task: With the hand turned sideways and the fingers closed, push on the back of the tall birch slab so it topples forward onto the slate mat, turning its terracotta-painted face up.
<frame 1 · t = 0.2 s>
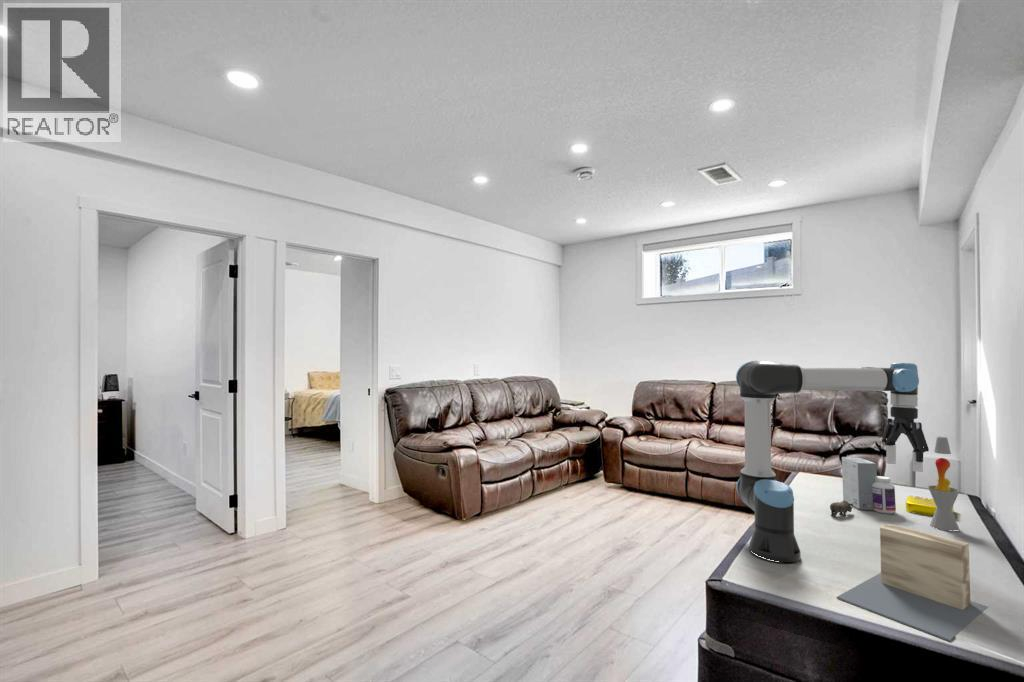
hand: (903, 467, 170), 27 cm above the table, tool pointing down, fingers open, 13 cm apart
lava lamp: (944, 528, 188), on the table
bison figurine: (842, 516, 202), on the table
pill bottle: (883, 512, 207), on the table, touching hard drive box
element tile: (929, 512, 208), on the table
hard drive box: (860, 505, 215), on the table, touching pill bottle
birch slab: (923, 592, 135), resting on slate mat
slate mat: (911, 603, 131), on the table
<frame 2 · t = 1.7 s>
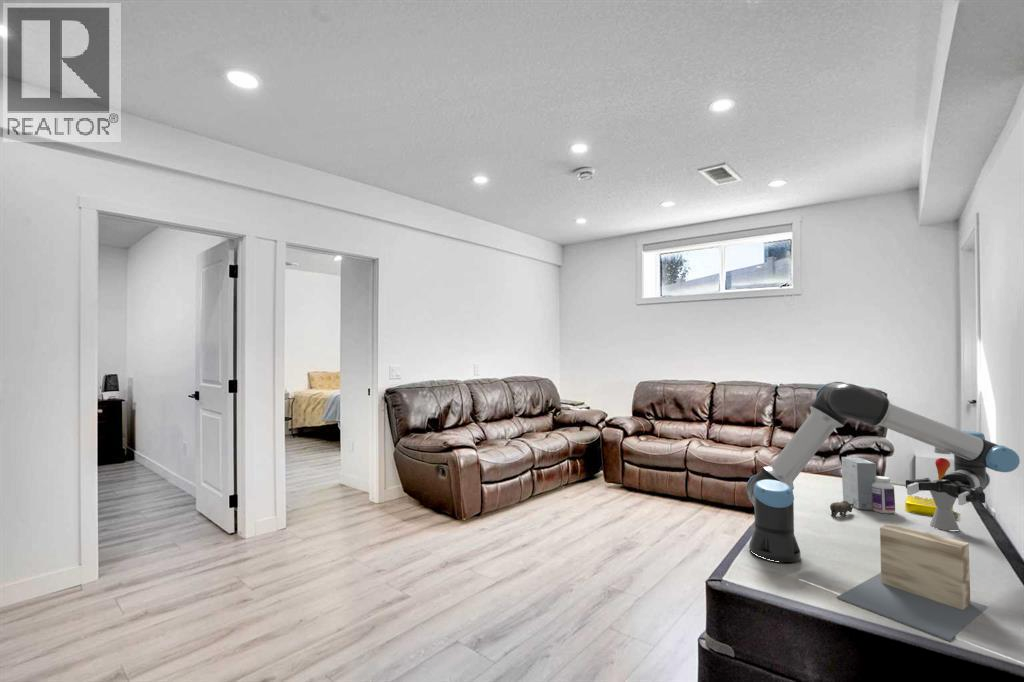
hand: (933, 495, 141), 26 cm above the table, tool horizontal, fingers open, 11 cm apart
hard drive box: (859, 505, 215), on the table, touching pill bottle
everything else where it was.
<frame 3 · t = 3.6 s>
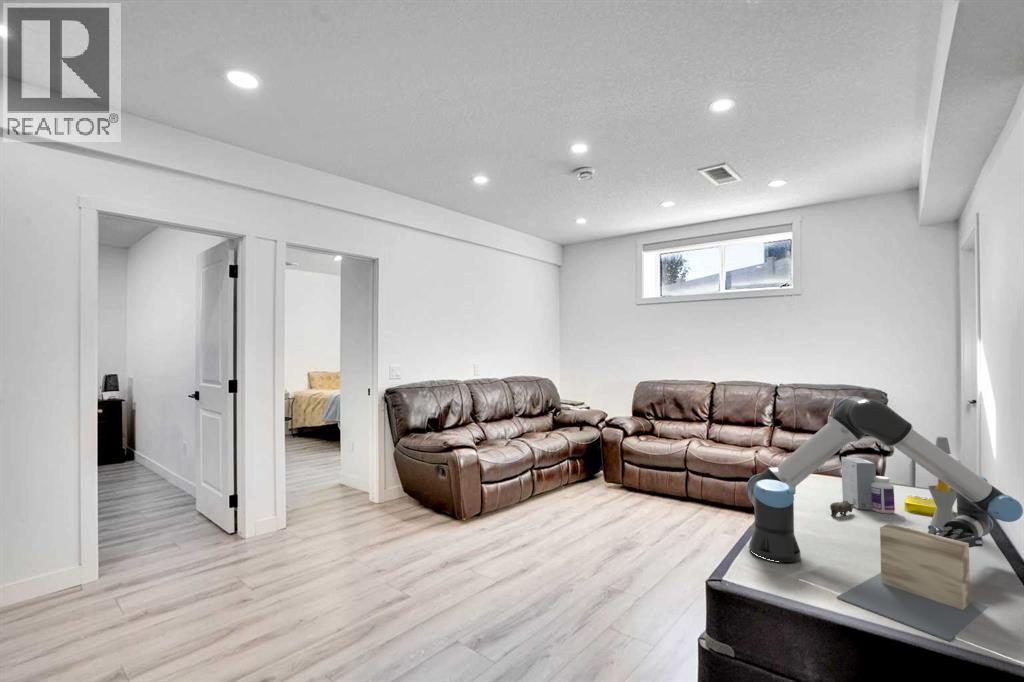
hand: (934, 547, 140), 12 cm above the table, tool horizontal, fingers closed
hard drive box: (859, 505, 216), on the table, touching pill bottle
everything else where it was.
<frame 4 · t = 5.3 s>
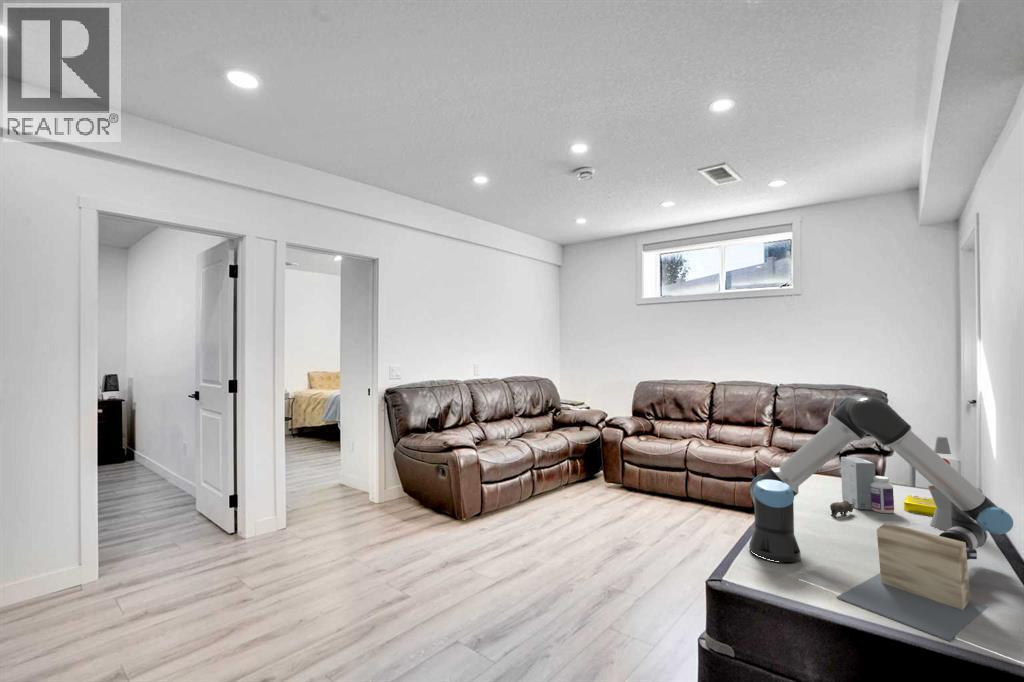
hand: (928, 559, 137), 9 cm above the table, tool horizontal, fingers closed
hard drive box: (858, 505, 216), on the table, touching pill bottle
birch slab: (923, 591, 135), point 1 cm above the table, tilted 8°, touching gripper, slate mat
everything else where it was.
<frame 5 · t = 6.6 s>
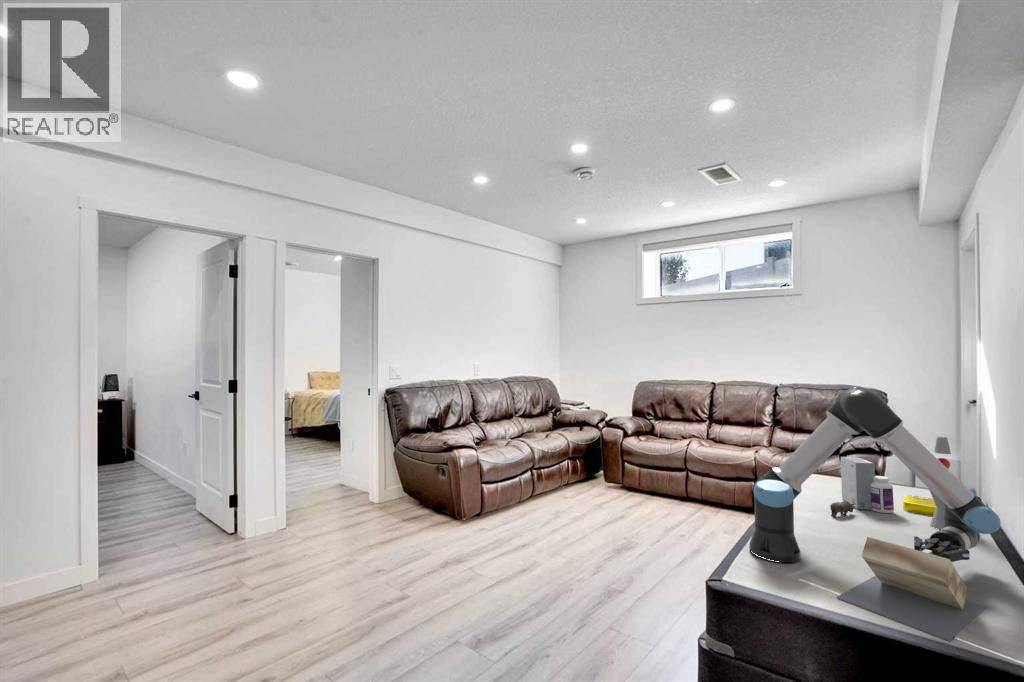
hand: (920, 559, 134), 10 cm above the table, tool horizontal, fingers closed
hard drive box: (858, 505, 216), on the table, touching pill bottle
birch slab: (922, 585, 135), point 3 cm above the table, tilted 49°, touching gripper, slate mat
everything else where it was.
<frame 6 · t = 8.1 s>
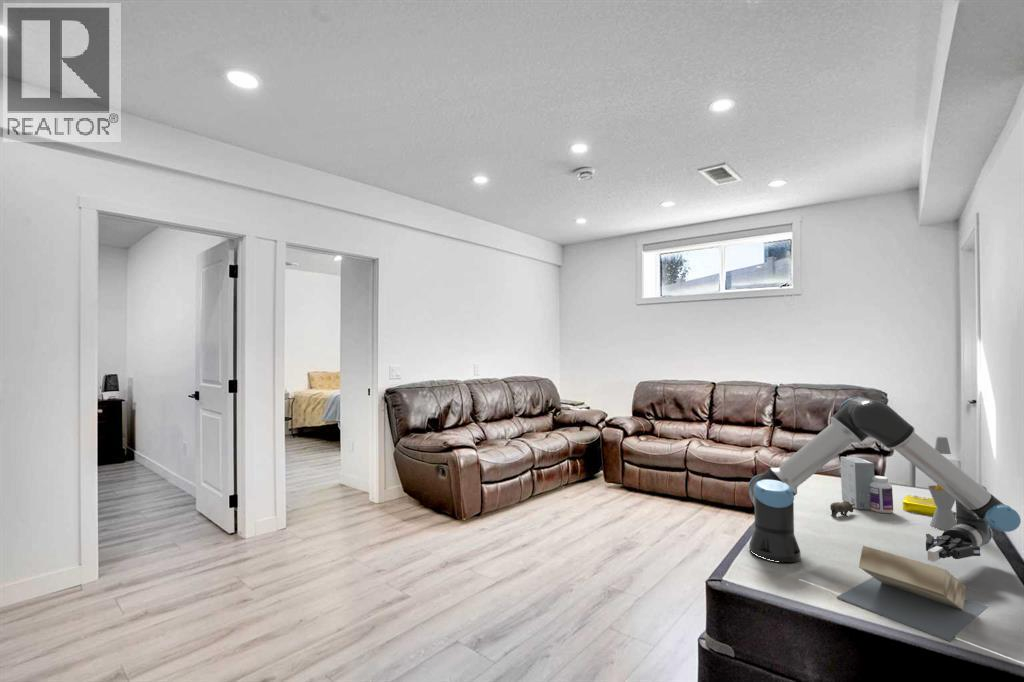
hand: (930, 556, 138), 9 cm above the table, tool horizontal, fingers closed
hard drive box: (858, 505, 216), on the table, touching pill bottle
birch slab: (921, 584, 135), point 3 cm above the table, tilted 61°, touching slate mat
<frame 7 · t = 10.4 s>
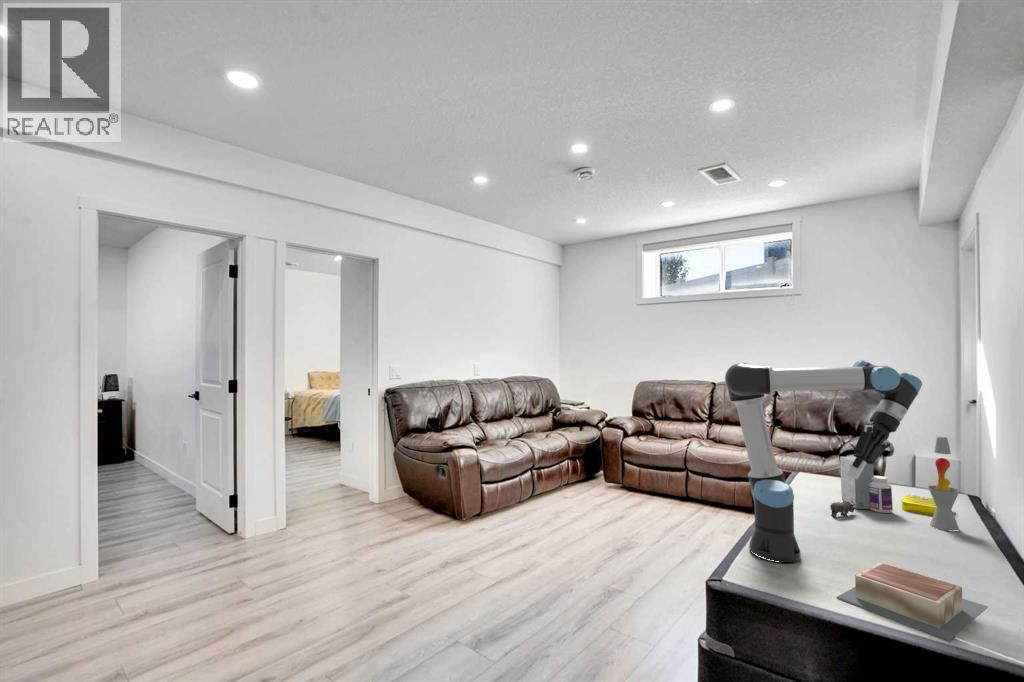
hand: (851, 477, 159), 27 cm above the table, tool tilted 35°, fingers closed
birch slab: (919, 584, 134), point 3 cm above the table, tilted 90°, touching slate mat
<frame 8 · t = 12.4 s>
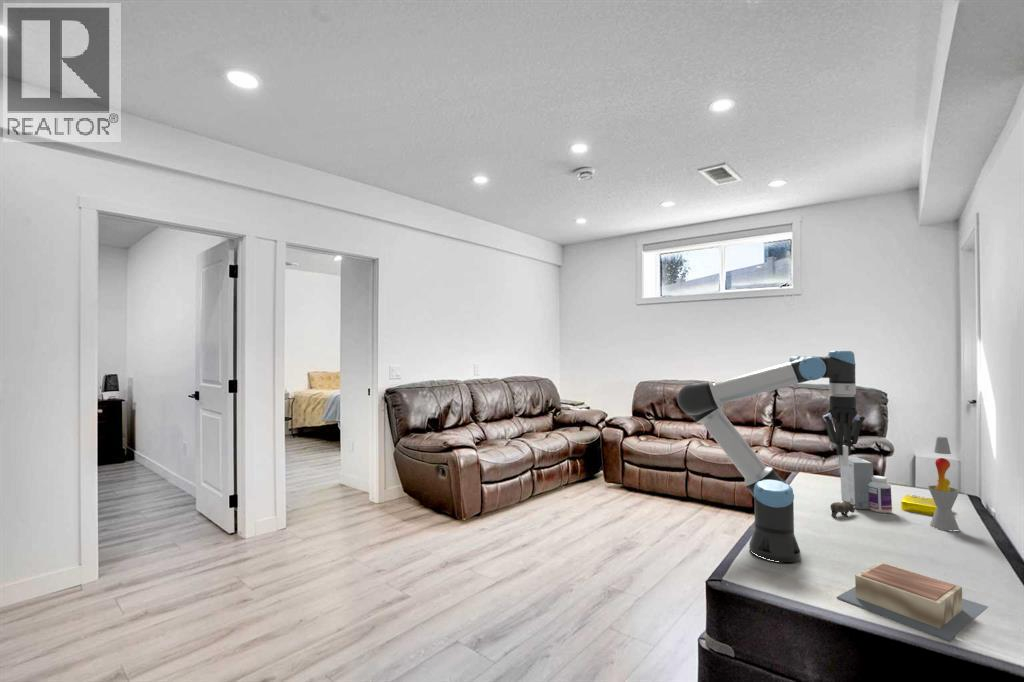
hand: (844, 464, 166), 29 cm above the table, tool pointing down, fingers closed
at the end: birch slab tilted 90°; birch slab touching slate mat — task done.
